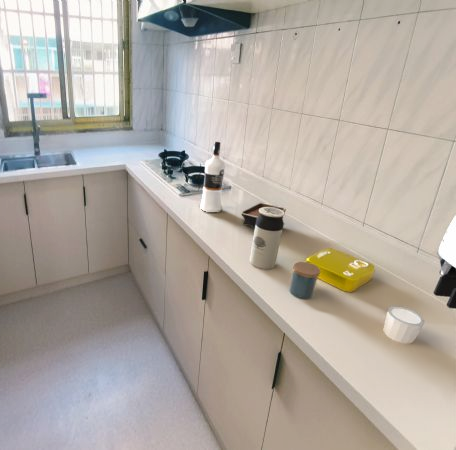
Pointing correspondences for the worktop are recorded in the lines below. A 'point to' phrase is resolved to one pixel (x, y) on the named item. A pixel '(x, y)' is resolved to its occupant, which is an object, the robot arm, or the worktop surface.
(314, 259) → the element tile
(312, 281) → the salt pot
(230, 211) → the worktop surface
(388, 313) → the white cup
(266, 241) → the travel mug
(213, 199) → the vodka
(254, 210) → the baking dish
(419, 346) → the worktop surface
